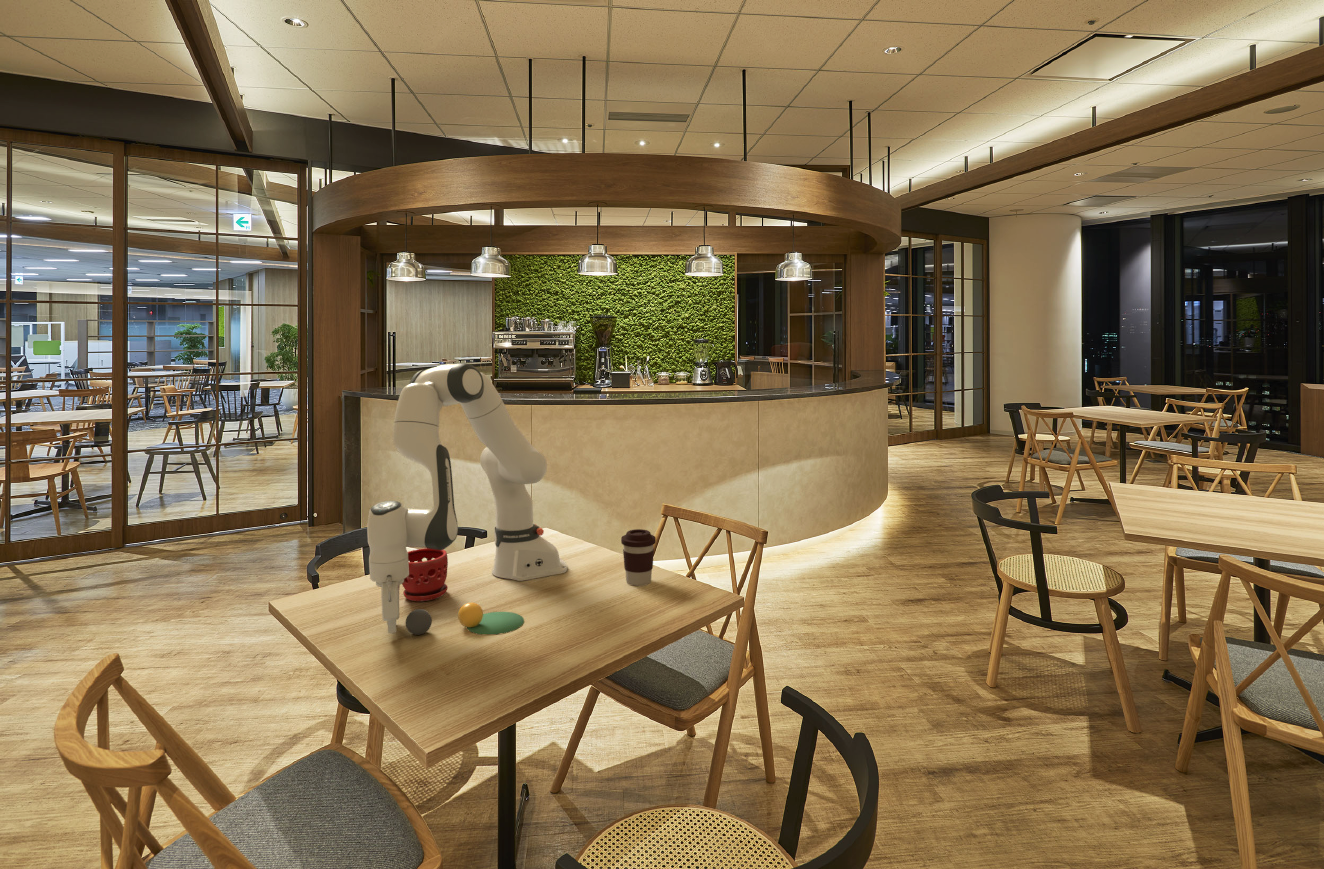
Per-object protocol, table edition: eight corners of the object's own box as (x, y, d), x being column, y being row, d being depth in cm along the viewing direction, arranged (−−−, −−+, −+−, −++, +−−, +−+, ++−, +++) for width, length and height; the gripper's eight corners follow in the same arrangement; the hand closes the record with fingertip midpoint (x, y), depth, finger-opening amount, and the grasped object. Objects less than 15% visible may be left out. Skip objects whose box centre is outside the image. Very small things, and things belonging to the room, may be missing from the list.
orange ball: (453, 618, 176) (475, 625, 178) (454, 627, 171) (478, 634, 173) (463, 595, 176) (485, 603, 179) (465, 604, 171) (488, 611, 173)
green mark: (519, 609, 186) (519, 608, 186) (528, 630, 173) (528, 629, 173) (463, 616, 181) (463, 616, 181) (469, 638, 168) (469, 637, 168)
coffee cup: (615, 585, 204) (615, 534, 202) (630, 574, 213) (629, 526, 211) (647, 590, 200) (647, 538, 198) (660, 579, 209) (660, 529, 207)
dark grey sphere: (401, 611, 172) (410, 633, 173) (401, 621, 166) (410, 643, 167) (426, 601, 173) (435, 622, 175) (426, 610, 168) (435, 632, 169)
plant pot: (426, 585, 205) (424, 544, 203) (459, 593, 198) (457, 551, 196) (388, 599, 193) (386, 556, 192) (422, 608, 187) (420, 564, 185)
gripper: (403, 582, 162) (406, 639, 164) (403, 556, 181) (405, 608, 183) (373, 585, 160) (377, 643, 161) (376, 558, 179) (379, 611, 181)
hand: (392, 624), depth 172 cm, fingers open, 8 cm apart
